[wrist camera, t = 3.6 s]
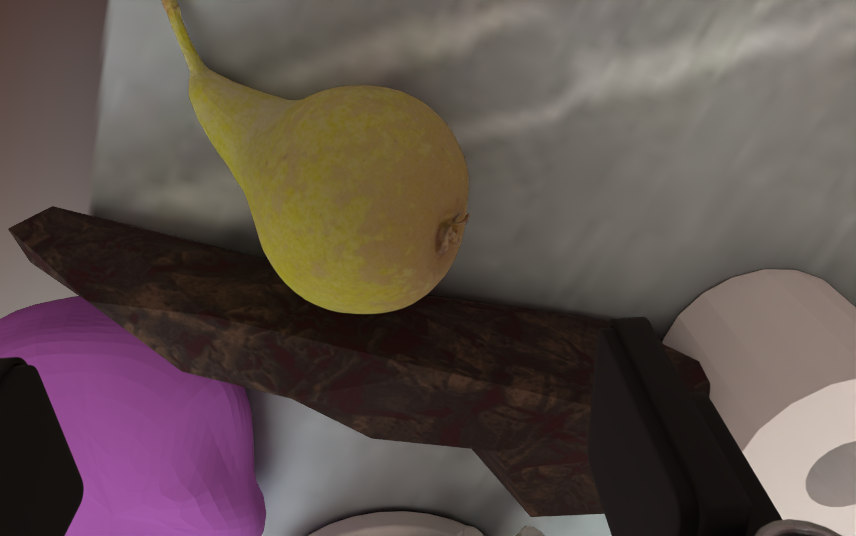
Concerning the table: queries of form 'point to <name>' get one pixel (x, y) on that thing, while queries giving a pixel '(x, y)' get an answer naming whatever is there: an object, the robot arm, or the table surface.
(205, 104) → the fruit
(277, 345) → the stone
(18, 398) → the robot arm
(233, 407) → the blob
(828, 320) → the toilet paper
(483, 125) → the table surface
